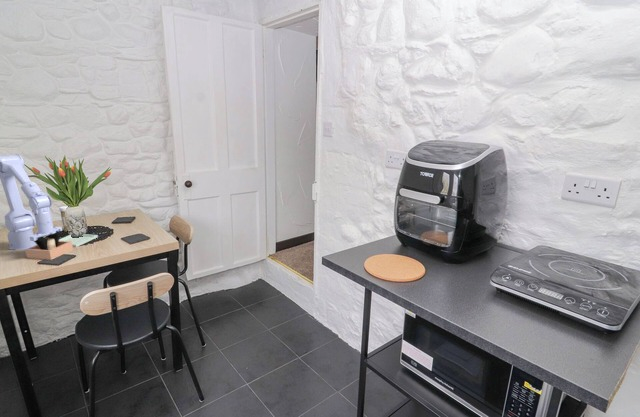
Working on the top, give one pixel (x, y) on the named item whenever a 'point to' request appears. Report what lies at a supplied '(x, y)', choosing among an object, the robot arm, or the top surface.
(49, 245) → the beech cylinder
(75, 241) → the sage tray
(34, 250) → the salmon tray
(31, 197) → the robot arm
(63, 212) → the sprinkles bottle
